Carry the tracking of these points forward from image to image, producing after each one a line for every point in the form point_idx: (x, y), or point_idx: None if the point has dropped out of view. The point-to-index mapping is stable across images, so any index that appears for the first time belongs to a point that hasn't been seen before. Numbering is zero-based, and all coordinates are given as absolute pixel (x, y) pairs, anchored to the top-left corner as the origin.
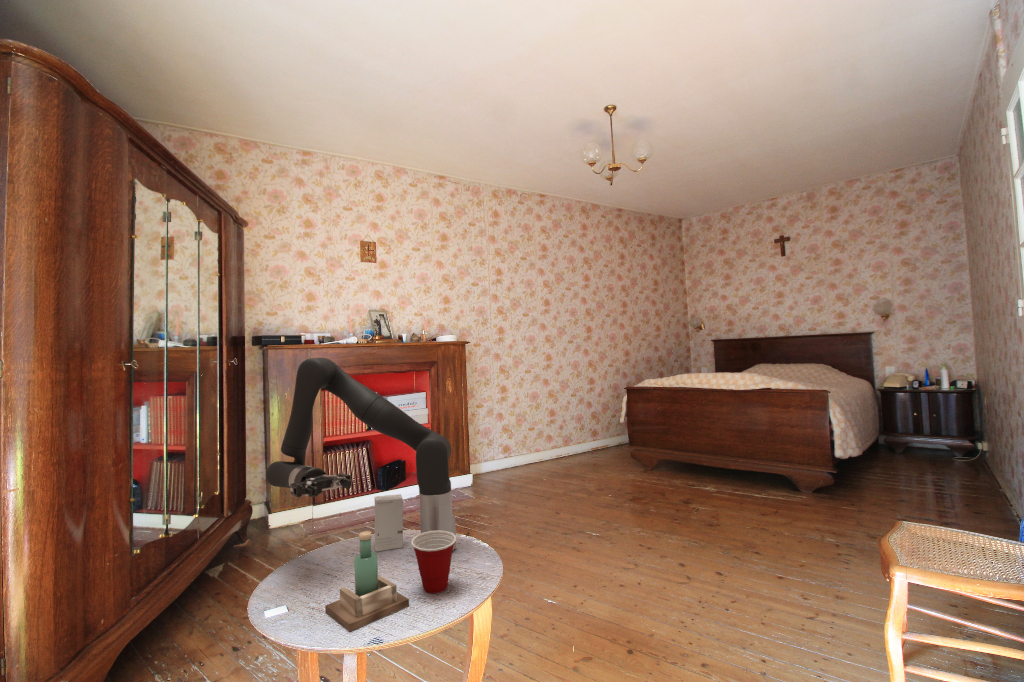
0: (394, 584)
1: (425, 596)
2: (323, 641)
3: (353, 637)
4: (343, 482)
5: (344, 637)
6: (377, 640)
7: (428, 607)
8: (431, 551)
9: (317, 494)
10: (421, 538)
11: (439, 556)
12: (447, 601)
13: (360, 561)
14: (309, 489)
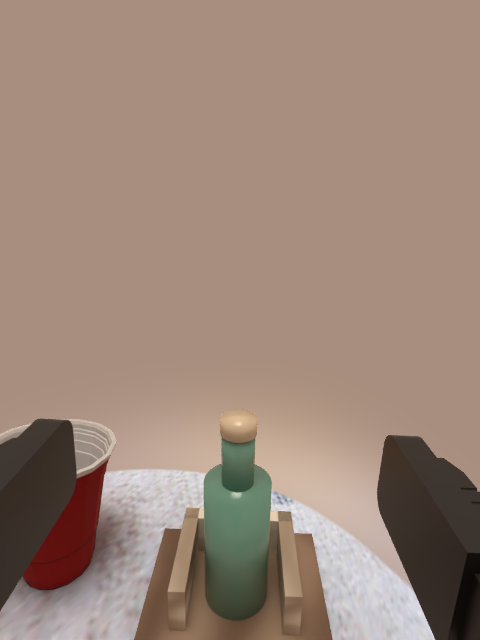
0: (187, 511)
1: (110, 548)
2: (367, 556)
3: (311, 527)
4: (13, 520)
5: (326, 539)
6: (281, 495)
7: (149, 511)
8: (104, 434)
9: (379, 487)
10: None
11: (87, 447)
12: (111, 503)
13: (264, 471)
14: (471, 484)
